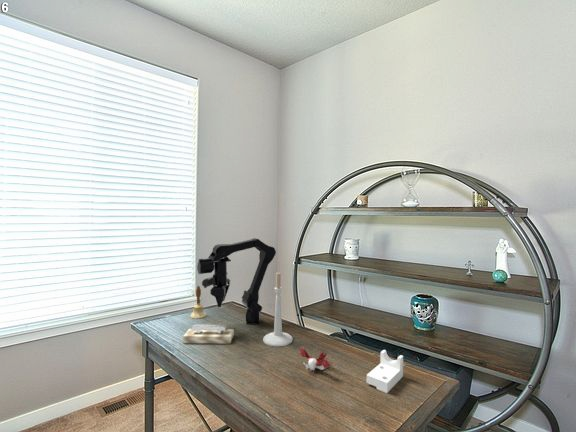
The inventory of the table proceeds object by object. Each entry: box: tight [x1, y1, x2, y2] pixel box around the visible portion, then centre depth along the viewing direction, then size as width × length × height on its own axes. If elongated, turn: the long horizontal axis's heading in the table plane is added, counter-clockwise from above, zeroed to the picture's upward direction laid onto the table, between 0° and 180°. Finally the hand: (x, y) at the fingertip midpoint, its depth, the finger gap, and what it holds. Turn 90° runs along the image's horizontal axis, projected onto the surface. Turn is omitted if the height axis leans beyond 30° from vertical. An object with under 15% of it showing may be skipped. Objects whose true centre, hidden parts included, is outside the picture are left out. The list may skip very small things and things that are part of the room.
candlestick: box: [262, 272, 294, 348], centre depth 140 cm, size 13×13×30 cm
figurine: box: [299, 345, 334, 374], centre depth 116 cm, size 15×12×7 cm
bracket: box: [366, 349, 404, 394], centre depth 108 cm, size 13×7×8 cm, turn 139°
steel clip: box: [191, 323, 227, 334], centre depth 140 cm, size 14×2×6 cm, turn 90°
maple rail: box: [182, 328, 235, 345], centre depth 140 cm, size 20×8×3 cm, turn 90°
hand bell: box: [189, 285, 207, 320], centre depth 169 cm, size 8×8×16 cm
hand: (221, 303), depth 152 cm, fingers open, 9 cm apart
